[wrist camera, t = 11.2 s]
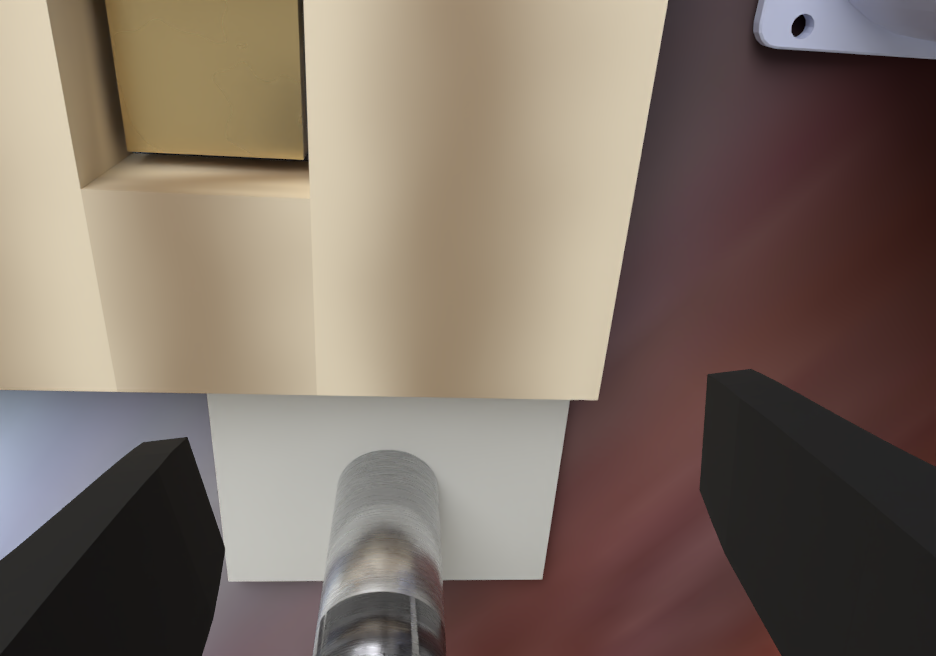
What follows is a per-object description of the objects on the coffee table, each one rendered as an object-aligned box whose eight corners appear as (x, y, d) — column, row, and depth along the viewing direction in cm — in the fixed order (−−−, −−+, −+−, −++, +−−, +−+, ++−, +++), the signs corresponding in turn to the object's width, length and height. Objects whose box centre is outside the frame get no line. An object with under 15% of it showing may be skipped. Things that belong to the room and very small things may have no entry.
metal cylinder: (405, 433, 20) (402, 641, 14) (456, 502, 22) (473, 721, 15) (316, 477, 21) (275, 697, 15) (371, 542, 22) (355, 769, 16)
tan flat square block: (301, -30, 15) (296, -30, 14) (308, 151, 17) (303, 159, 16) (113, -44, 15) (98, -44, 14) (139, 142, 16) (127, 151, 16)
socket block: (669, -299, 14) (731, -360, 11) (572, 341, 20) (597, 400, 17) (-363, -415, 12) (-581, -520, 9) (-114, 324, 18) (-202, 386, 16)
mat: (566, 387, 21) (570, 398, 20) (539, 565, 24) (542, 579, 23) (212, 380, 20) (206, 392, 19) (232, 567, 23) (228, 581, 22)
